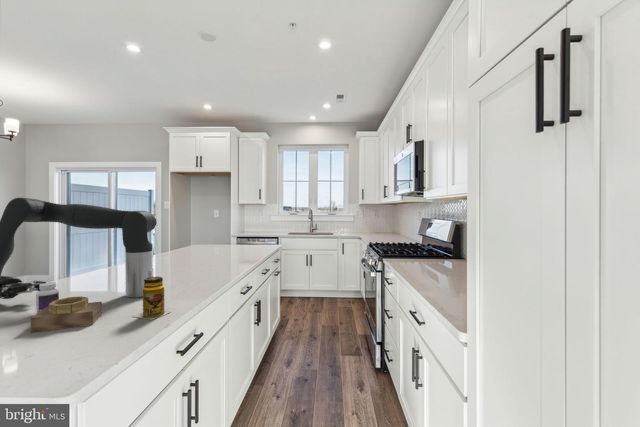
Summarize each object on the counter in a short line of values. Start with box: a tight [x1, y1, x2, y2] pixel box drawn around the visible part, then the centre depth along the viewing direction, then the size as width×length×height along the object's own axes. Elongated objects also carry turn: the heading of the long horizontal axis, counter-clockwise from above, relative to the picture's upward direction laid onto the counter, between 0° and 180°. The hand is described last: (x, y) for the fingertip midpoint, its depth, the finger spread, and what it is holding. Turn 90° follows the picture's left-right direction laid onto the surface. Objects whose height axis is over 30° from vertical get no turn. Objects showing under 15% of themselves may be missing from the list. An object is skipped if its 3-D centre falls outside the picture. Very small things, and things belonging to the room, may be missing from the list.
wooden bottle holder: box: [30, 295, 103, 333], centre depth 90 cm, size 14×10×6 cm
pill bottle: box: [35, 281, 60, 314], centre depth 97 cm, size 5×5×10 cm
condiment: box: [132, 276, 171, 321], centre depth 97 cm, size 7×8×12 cm
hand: (29, 291), depth 101 cm, fingers open, 8 cm apart
